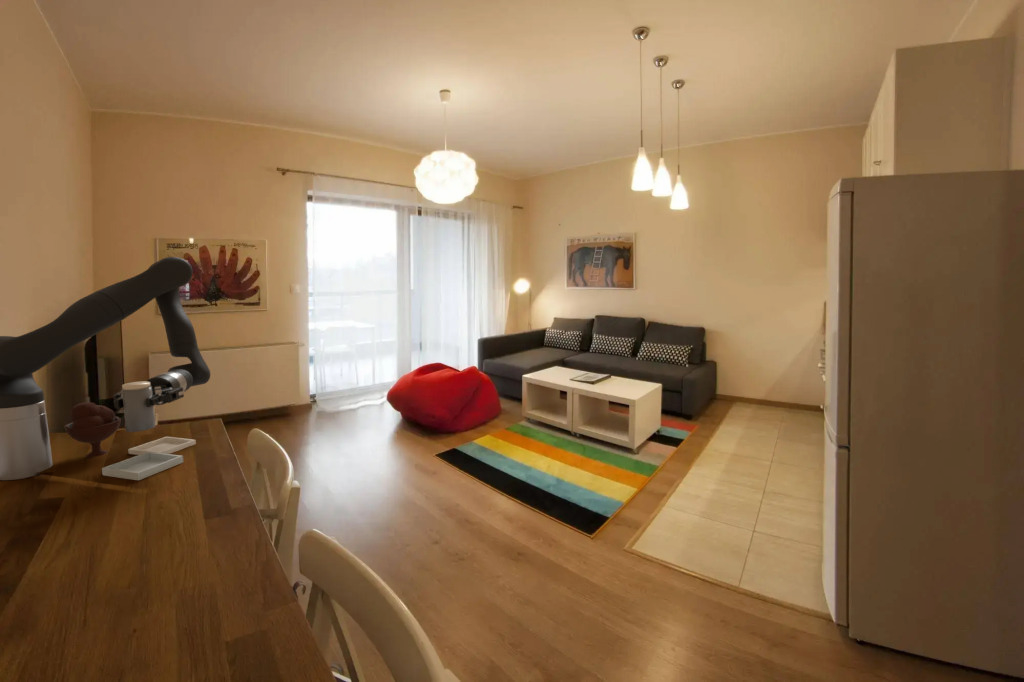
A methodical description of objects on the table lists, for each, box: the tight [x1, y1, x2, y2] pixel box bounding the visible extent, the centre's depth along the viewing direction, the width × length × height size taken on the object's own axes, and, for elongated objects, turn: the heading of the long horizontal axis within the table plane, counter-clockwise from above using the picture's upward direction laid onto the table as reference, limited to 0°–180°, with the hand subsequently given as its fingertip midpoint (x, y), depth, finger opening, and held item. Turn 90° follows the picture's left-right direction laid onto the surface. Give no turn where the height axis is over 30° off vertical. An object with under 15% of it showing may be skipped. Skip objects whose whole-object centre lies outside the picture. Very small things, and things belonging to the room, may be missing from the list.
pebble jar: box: [120, 380, 156, 433], centre depth 109 cm, size 6×6×11 cm
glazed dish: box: [101, 452, 184, 481], centre depth 111 cm, size 11×11×2 cm
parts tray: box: [127, 436, 197, 456], centre depth 124 cm, size 10×10×2 cm
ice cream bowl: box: [63, 401, 122, 458], centre depth 119 cm, size 11×11×15 cm
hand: (132, 403), depth 106 cm, fingers closed on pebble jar, 5 cm apart
